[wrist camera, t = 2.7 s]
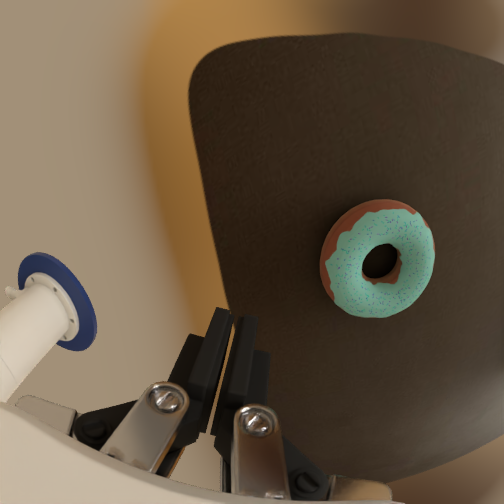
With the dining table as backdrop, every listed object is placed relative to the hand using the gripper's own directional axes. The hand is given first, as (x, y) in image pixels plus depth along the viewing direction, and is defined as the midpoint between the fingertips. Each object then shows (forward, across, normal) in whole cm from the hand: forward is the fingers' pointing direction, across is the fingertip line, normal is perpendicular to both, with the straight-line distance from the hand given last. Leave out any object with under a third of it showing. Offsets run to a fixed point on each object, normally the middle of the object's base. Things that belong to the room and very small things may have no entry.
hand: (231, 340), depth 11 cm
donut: (+17, -12, 0) cm, 21 cm away
